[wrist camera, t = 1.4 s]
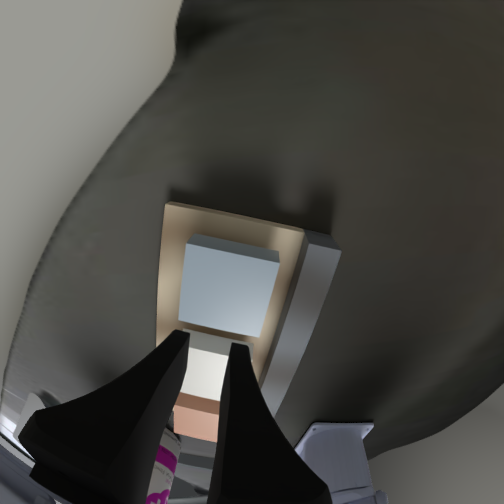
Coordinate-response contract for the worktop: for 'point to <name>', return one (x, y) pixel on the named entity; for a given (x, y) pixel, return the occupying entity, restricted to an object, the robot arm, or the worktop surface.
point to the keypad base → (283, 295)
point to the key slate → (227, 284)
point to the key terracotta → (196, 417)
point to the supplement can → (164, 469)
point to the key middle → (207, 364)
